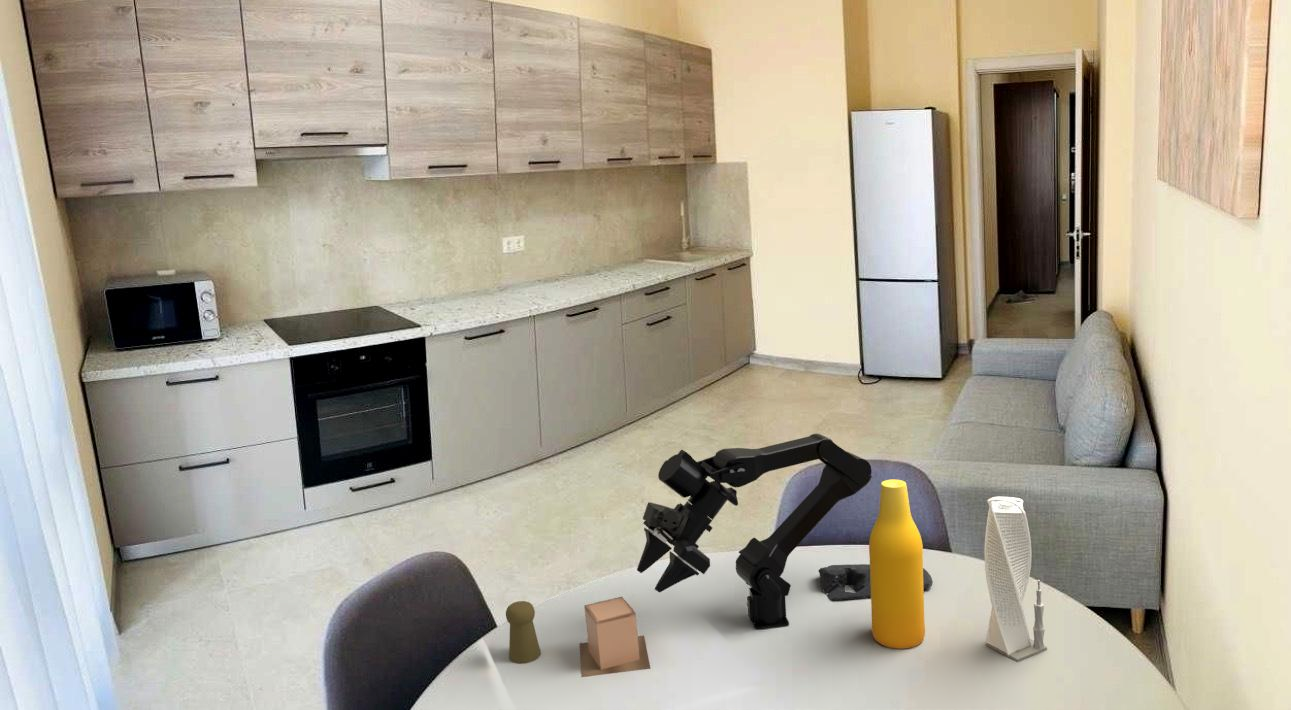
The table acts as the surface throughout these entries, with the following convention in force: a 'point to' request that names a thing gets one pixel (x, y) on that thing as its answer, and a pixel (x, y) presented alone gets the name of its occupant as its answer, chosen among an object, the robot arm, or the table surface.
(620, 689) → the table surface
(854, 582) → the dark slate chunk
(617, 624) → the tan upright cuboid
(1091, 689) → the table surface
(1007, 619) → the skyscraper
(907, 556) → the beer bottle
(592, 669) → the walnut pad
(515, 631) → the olive pawn game piece
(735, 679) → the table surface
